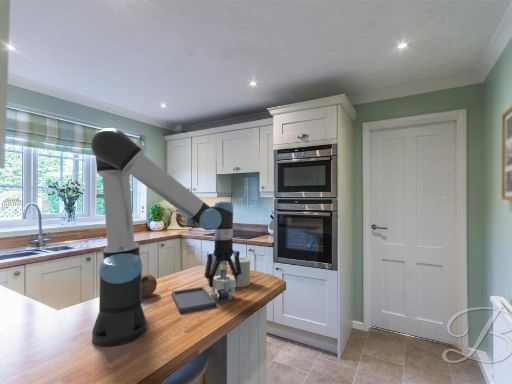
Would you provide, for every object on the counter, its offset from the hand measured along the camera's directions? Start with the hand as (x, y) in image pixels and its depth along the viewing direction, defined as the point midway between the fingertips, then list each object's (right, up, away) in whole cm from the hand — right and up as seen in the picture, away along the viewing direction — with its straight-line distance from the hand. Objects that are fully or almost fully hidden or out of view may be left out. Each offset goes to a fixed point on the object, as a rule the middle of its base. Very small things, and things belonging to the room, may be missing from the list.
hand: (223, 292), depth 110 cm
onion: (-34, -2, +2) cm, 34 cm away
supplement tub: (-5, -3, +20) cm, 21 cm away
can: (+6, -3, +19) cm, 20 cm away
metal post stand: (0, -2, 0) cm, 2 cm away
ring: (0, +3, 0) cm, 3 cm away
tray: (-12, -2, -3) cm, 13 cm away
